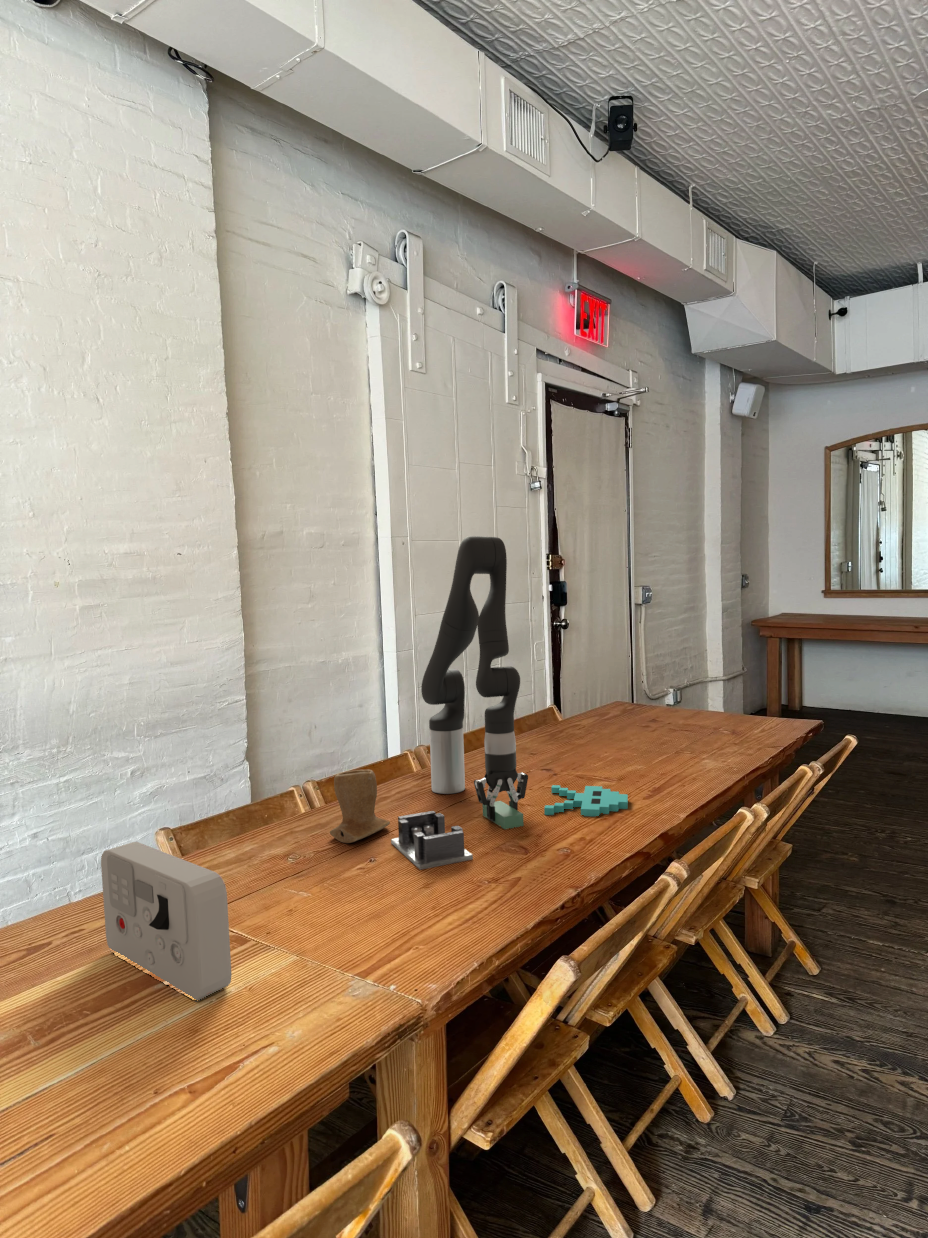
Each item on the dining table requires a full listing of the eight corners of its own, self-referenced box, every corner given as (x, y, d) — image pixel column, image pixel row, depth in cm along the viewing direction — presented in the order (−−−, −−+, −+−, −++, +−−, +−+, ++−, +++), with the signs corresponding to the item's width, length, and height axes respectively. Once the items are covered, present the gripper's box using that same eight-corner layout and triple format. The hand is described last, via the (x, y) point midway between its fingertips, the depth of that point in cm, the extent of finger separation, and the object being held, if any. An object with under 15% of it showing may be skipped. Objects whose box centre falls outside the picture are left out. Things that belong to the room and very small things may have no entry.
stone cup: (357, 821, 205) (354, 761, 204) (396, 828, 199) (394, 766, 198) (316, 840, 192) (313, 776, 191) (356, 848, 186) (353, 782, 185)
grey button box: (93, 957, 138) (85, 851, 137) (136, 940, 144) (129, 838, 143) (187, 1014, 120) (180, 892, 119) (233, 991, 126) (226, 875, 124)
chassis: (391, 843, 188) (390, 817, 188) (440, 834, 193) (439, 809, 193) (419, 869, 172) (418, 841, 171) (472, 859, 177) (471, 831, 176)
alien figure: (544, 816, 205) (627, 819, 201) (544, 808, 205) (627, 810, 201) (552, 793, 225) (628, 795, 221) (552, 785, 224) (627, 787, 220)
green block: (482, 815, 206) (482, 803, 206) (500, 812, 208) (500, 800, 208) (504, 829, 195) (504, 817, 195) (523, 826, 197) (523, 813, 197)
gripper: (519, 742, 207) (521, 810, 208) (466, 750, 201) (469, 819, 202) (534, 748, 200) (536, 818, 201) (479, 756, 194) (482, 828, 195)
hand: (502, 818), depth 202 cm, fingers closed on green block, 5 cm apart
